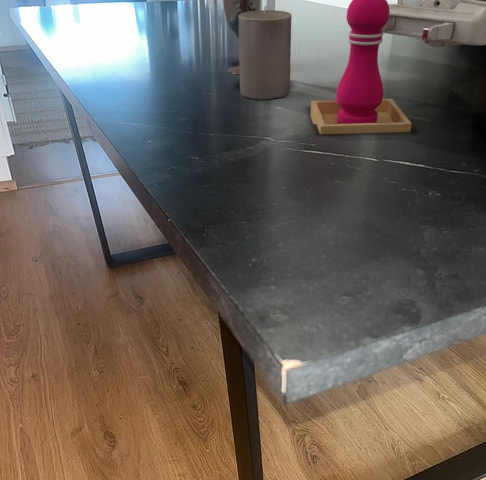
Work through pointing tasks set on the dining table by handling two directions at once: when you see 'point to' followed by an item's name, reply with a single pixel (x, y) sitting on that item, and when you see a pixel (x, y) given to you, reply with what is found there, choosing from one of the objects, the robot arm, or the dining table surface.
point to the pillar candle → (264, 53)
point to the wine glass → (233, 5)
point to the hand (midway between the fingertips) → (399, 30)
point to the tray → (386, 113)
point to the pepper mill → (362, 63)
